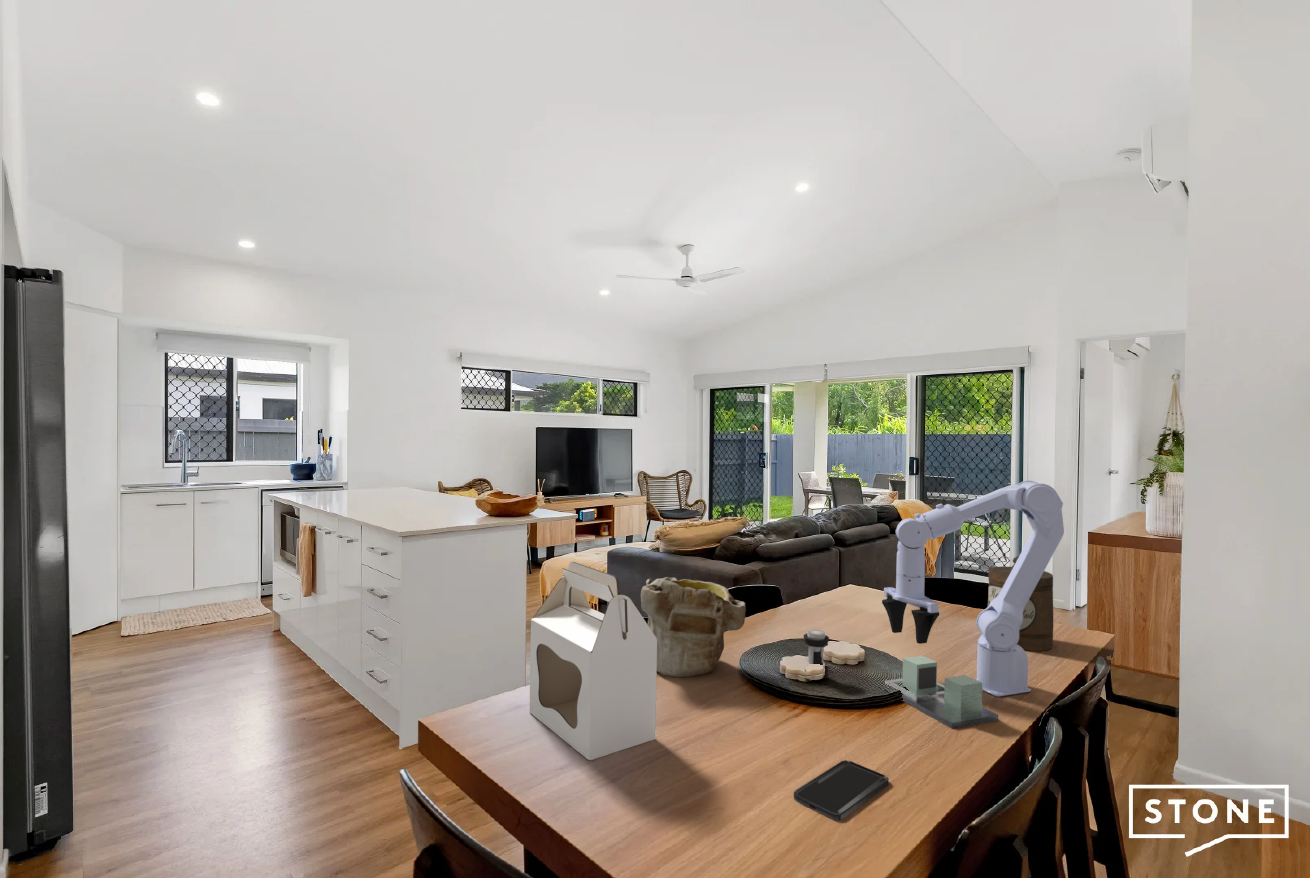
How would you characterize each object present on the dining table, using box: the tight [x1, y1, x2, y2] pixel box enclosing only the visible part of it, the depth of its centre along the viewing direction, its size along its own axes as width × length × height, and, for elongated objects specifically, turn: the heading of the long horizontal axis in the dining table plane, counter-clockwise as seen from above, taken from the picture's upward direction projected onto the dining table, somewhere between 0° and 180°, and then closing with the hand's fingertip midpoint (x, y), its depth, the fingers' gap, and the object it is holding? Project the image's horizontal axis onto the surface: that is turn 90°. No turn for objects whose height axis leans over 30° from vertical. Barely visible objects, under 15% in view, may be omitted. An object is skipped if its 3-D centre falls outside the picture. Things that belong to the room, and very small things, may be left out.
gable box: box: [529, 561, 658, 761], centre depth 116 cm, size 22×13×28 cm, turn 36°
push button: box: [803, 629, 830, 677], centre depth 140 cm, size 7×5×10 cm
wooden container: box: [987, 555, 1054, 652], centre depth 169 cm, size 15×15×22 cm
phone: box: [793, 759, 890, 821], centre depth 97 cm, size 8×1×15 cm
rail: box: [885, 674, 999, 729], centre depth 129 cm, size 20×11×7 cm, turn 20°
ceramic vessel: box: [640, 576, 747, 678], centre depth 146 cm, size 23×24×25 cm
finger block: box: [902, 655, 938, 695], centre depth 133 cm, size 4×5×6 cm
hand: (909, 637), depth 142 cm, fingers open, 7 cm apart
